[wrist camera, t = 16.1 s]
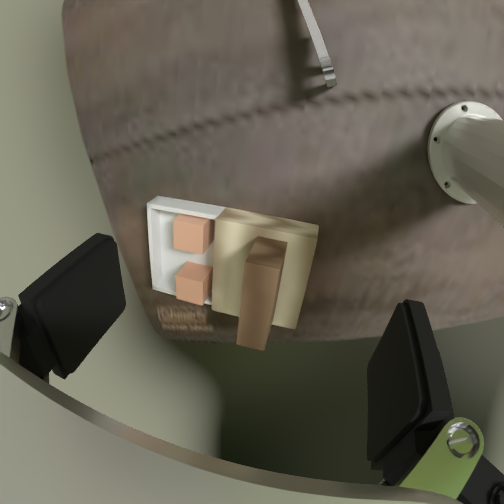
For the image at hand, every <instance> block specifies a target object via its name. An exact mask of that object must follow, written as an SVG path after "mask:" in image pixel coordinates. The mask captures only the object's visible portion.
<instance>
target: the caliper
mask: <svg viewBox="0 0 504 504" xmlns="http://www.w3.org/2000/svg"><path fill="white" fill-rule="evenodd" d="M298 3H299V5H300V8H301V10H302V13H303V16H304V18H305V21H306V24H307V26H308V29H309V32H310V35H311V37H312V40H313V43H314V46H315V49H316V52H317V55H318V58H319V61H320V65H321V68H322V71H323V73H324V77H325V80H326V84H327V87H332V86H336V85H337V83H336V78H335V74H334V69H333V67H332V64H331V61H330V57H329V56H328V53H327V50H326V47H325V44H324V41H323V39H322V36H321V33H320V30H319V28H318V25H317V22H316V20H315V18H314V15H313V13H312V10H311V8H310V5H309V3H308V0H298Z"/></svg>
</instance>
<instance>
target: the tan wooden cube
mask: <svg viewBox="0 0 504 504" xmlns="http://www.w3.org/2000/svg"><path fill="white" fill-rule="evenodd" d="M212 279H213V267H211V266H206V265H202V264H197V263H193V262H189V261H187V262H186V263H185V264H184V266H183V267H182V268H181V269H180V271H179V272H178V273H177V274H176V296H177V299H180V300H183V301H187V302H191V303H195V304H198V305H202V306H203V304H204V302H205V301H206V299H207V297H208V296H209V294H210V292H211V291H212Z"/></svg>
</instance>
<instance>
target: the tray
mask: <svg viewBox="0 0 504 504" xmlns="http://www.w3.org/2000/svg"><path fill="white" fill-rule="evenodd" d="M225 208H226V207H221V206H216V205H210V204H204V203H198V202H192V201H186V200H180V199H174V198H168V197H162V196H157V197H155V198H154V199H153V200H151V201H150V202H148V203H147V218H148V236H149V251H150V264H151V275H152V285H153V289H154V290H157V291H161V292H164V293H168V294H172V295H175V296H176V274H177V273H178V272H179V271H180V269H181V268H182V267H183V266H184V264H185V263H186V262H187V261H189V262H193V263H197V264H202V265H206V266H211V267H213V261H214V239H215V220H216V218H217V217H218V216H219V215H220V213H221V212H222V211H223V210H224V209H225ZM180 213H181V214H186V215H192V216H197V217H202V218H208V219H213V220H214V238H213V242H212V243H211V244H210V246H209V247H208V248H207V250H206V251H205V252H204V253H203V255H202V254H197V253H193V252H188V251H184V250H179V249H175V248H174V237H173V220H174V219H175V218H176V217H177V216H178V215H179V214H180ZM212 285H213V279H212ZM204 303H205V304H209V305H212V291H211V292H210V294H209V296H208V297H207V299H206V301H205V302H204Z"/></svg>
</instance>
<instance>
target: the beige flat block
mask: <svg viewBox="0 0 504 504" xmlns="http://www.w3.org/2000/svg"><path fill="white" fill-rule="evenodd" d="M318 230H319V225H315V224H310V223H306V222H301V221H296V220H291V219H286V218H280V217H275V216H270V215H265V214H260V213H254V212H249V211H244V210H238V209H233V208H227V207H226V208H225V209H224V210H223V211H222V212H221V213H220V215H219V216H218V217H217V218H216V220H215V239H214V261H213V285H212V310H214V311H218V312H222V313H226V314H230V315H234V316H238V317H239V314H240V305H241V295H242V286H243V276H244V267H245V261H246V259H247V257H248V255H249V253H250V251H251V249H252V247H253V245H254V243H255V241H256V239H257V237H258V236H260V237H265V238H270V239H275V240H280V241H285V242H288V244H287V249H286V255H285V260H284V266H283V271H282V276H281V282H280V287H279V292H278V297H277V302H276V308H275V313H274V318H273V322H272V325H277V326H281V327H286V328H290V329H296V325H297V321H298V317H299V314H300V310H301V306H302V302H303V298H304V294H305V290H306V286H307V282H308V278H309V274H310V270H311V266H312V261H313V257H314V253H315V248H316V244H317V240H318Z"/></svg>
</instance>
